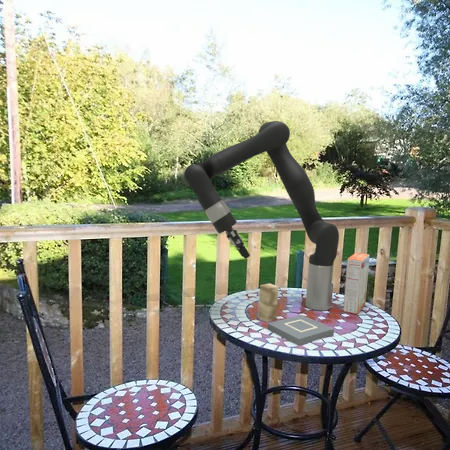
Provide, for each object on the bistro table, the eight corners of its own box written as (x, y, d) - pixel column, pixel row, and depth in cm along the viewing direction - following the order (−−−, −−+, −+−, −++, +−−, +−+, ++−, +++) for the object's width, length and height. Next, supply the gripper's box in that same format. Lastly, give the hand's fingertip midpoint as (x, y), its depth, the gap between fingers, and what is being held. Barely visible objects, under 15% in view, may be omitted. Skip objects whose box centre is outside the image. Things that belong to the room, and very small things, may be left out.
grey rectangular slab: (301, 320, 142) (302, 314, 141) (333, 334, 131) (334, 328, 130) (267, 329, 132) (267, 322, 132) (298, 345, 121) (299, 338, 121)
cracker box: (350, 301, 165) (355, 251, 162) (365, 305, 162) (370, 254, 159) (341, 311, 153) (346, 257, 150) (358, 315, 150) (363, 260, 147)
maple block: (267, 315, 145) (269, 283, 143) (276, 319, 141) (278, 286, 139) (258, 317, 142) (260, 285, 140) (266, 322, 138) (268, 288, 137)
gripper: (231, 210, 131) (258, 251, 131) (228, 211, 145) (252, 249, 146) (212, 222, 130) (239, 264, 131) (210, 222, 145) (235, 260, 145)
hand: (246, 256), depth 138 cm, fingers open, 8 cm apart
